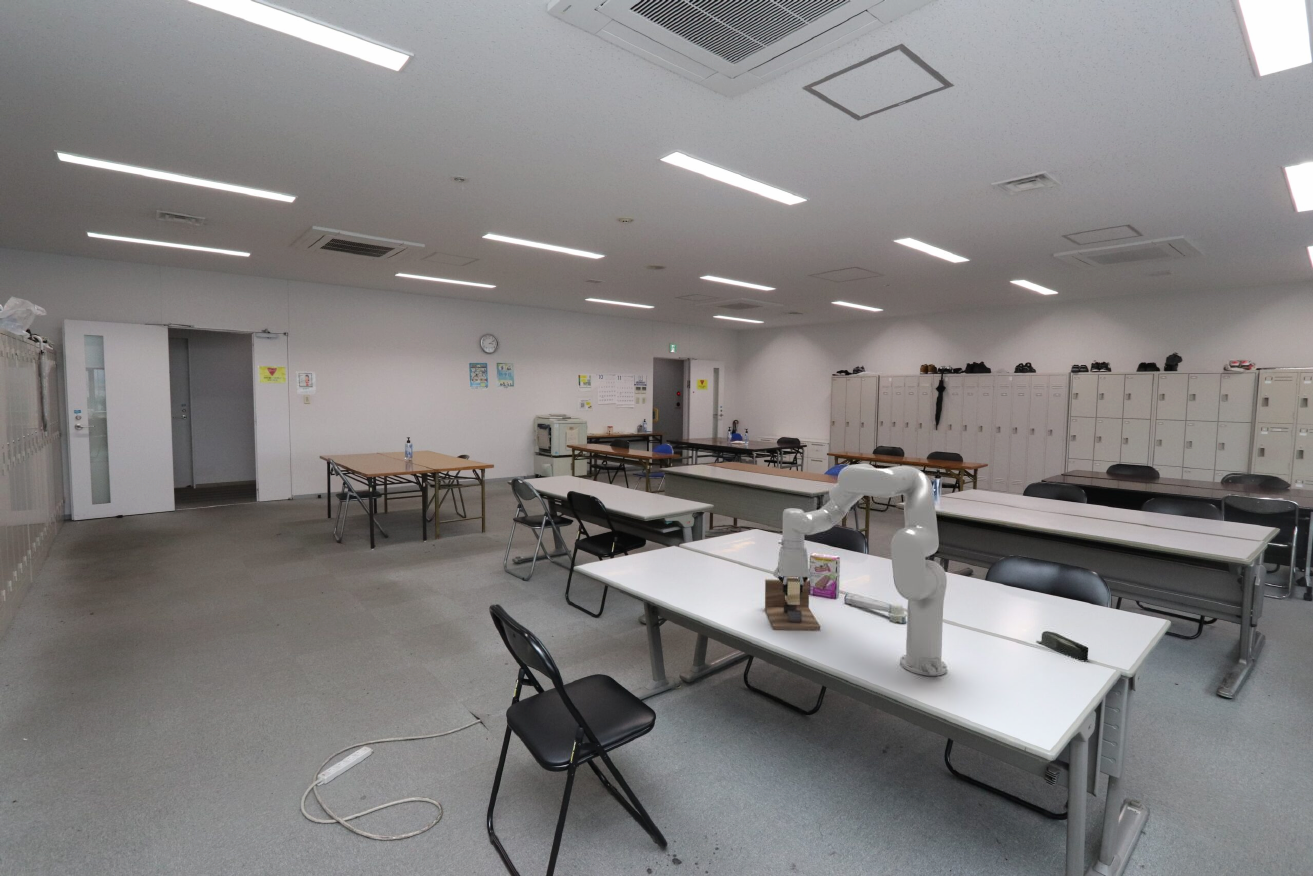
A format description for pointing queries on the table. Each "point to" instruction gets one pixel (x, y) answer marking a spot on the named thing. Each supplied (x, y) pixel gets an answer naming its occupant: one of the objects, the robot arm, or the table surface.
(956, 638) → the table surface
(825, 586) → the candy bar box
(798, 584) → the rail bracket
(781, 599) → the wooden bookend
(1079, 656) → the dark green stapler
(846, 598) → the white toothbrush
